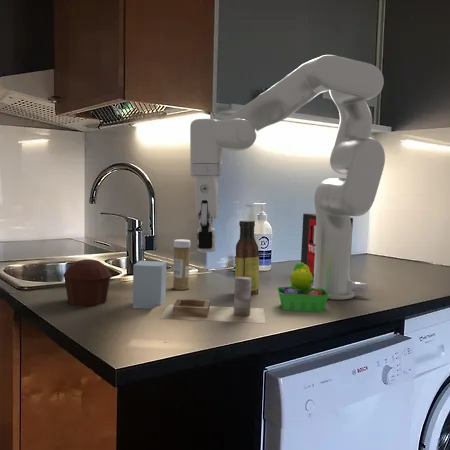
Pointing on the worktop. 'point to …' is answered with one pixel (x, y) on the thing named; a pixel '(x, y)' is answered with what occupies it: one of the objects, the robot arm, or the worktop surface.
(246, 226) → the sauce bottle
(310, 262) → the cleaning product box
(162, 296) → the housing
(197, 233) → the pill bottle
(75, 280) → the muffin
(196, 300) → the board
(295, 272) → the fruit basket
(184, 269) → the sprinkles bottle
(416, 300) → the worktop surface
